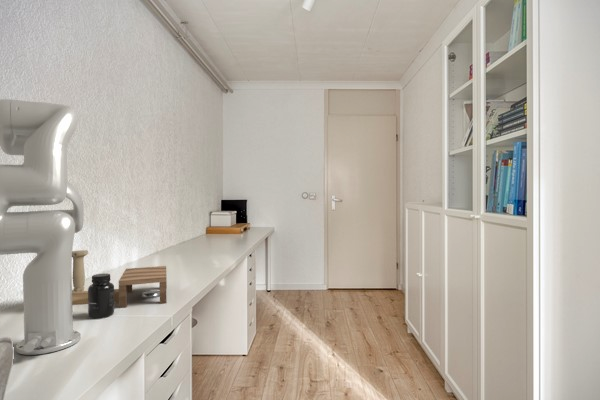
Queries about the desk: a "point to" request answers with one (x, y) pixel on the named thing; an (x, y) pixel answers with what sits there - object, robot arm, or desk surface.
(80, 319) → the desk surface
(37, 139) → the robot arm
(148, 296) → the steel disc
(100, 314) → the supplement bottle
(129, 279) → the desk riser
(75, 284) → the beige pillar figurine
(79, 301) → the oak stick
